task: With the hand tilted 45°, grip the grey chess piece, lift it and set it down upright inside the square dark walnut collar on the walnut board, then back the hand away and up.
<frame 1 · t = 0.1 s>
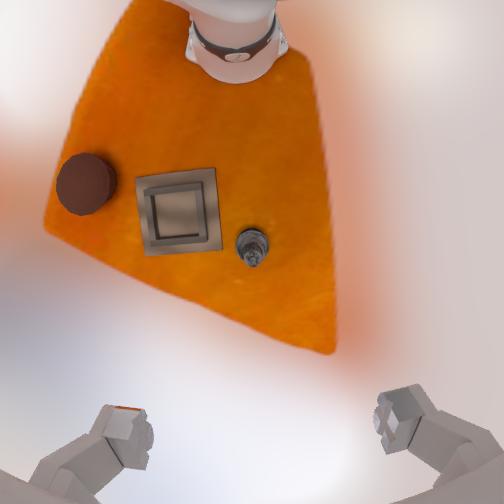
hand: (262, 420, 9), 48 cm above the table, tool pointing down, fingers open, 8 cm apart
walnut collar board: (178, 212, 55), on the table
muffin: (98, 181, 53), on the table
grey chess piece: (251, 241, 57), on the table
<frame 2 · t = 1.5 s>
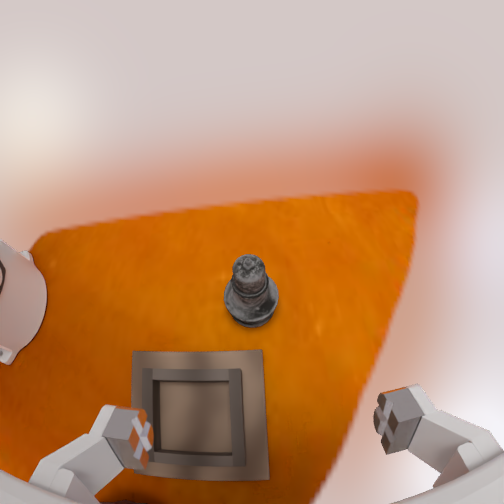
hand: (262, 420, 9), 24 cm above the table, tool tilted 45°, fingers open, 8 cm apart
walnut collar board: (197, 417, 30), on the table
grey chess piece: (252, 306, 36), on the table
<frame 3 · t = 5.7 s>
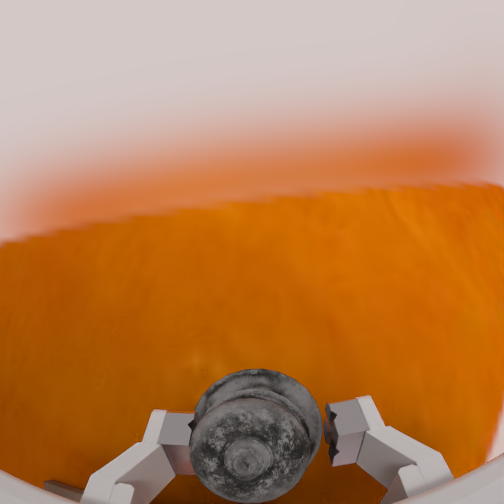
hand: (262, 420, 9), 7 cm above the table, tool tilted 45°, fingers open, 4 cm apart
grey chess piece: (258, 425, 15), on the table, touching gripper
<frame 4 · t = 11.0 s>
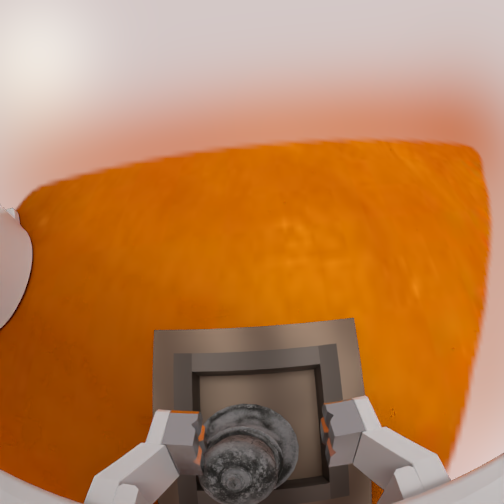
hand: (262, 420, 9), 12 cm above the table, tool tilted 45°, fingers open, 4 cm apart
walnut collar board: (260, 428, 19), on the table
grey chess piece: (249, 444, 18), point 1 cm above the table, touching gripper, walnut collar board
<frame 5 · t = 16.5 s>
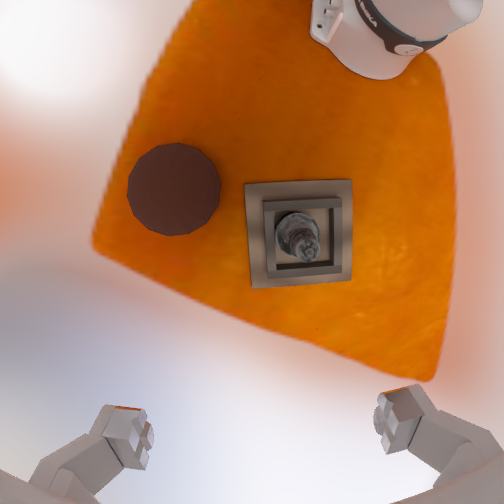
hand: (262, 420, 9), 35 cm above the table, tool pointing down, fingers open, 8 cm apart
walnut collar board: (300, 233, 43), on the table
muffin: (183, 186, 41), on the table
grey chess piece: (293, 229, 42), point 1 cm above the table, touching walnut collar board
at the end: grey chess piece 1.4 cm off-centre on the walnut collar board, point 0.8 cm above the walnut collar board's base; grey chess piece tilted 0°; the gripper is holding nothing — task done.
